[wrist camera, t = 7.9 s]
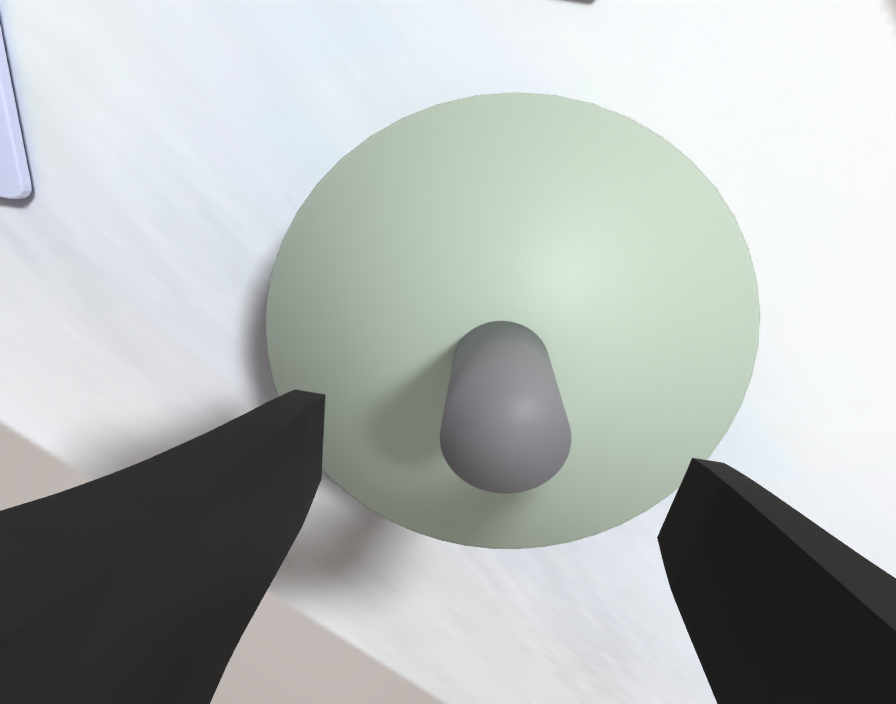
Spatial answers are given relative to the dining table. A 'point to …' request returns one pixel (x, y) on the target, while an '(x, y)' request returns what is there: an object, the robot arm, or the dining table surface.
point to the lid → (515, 319)
